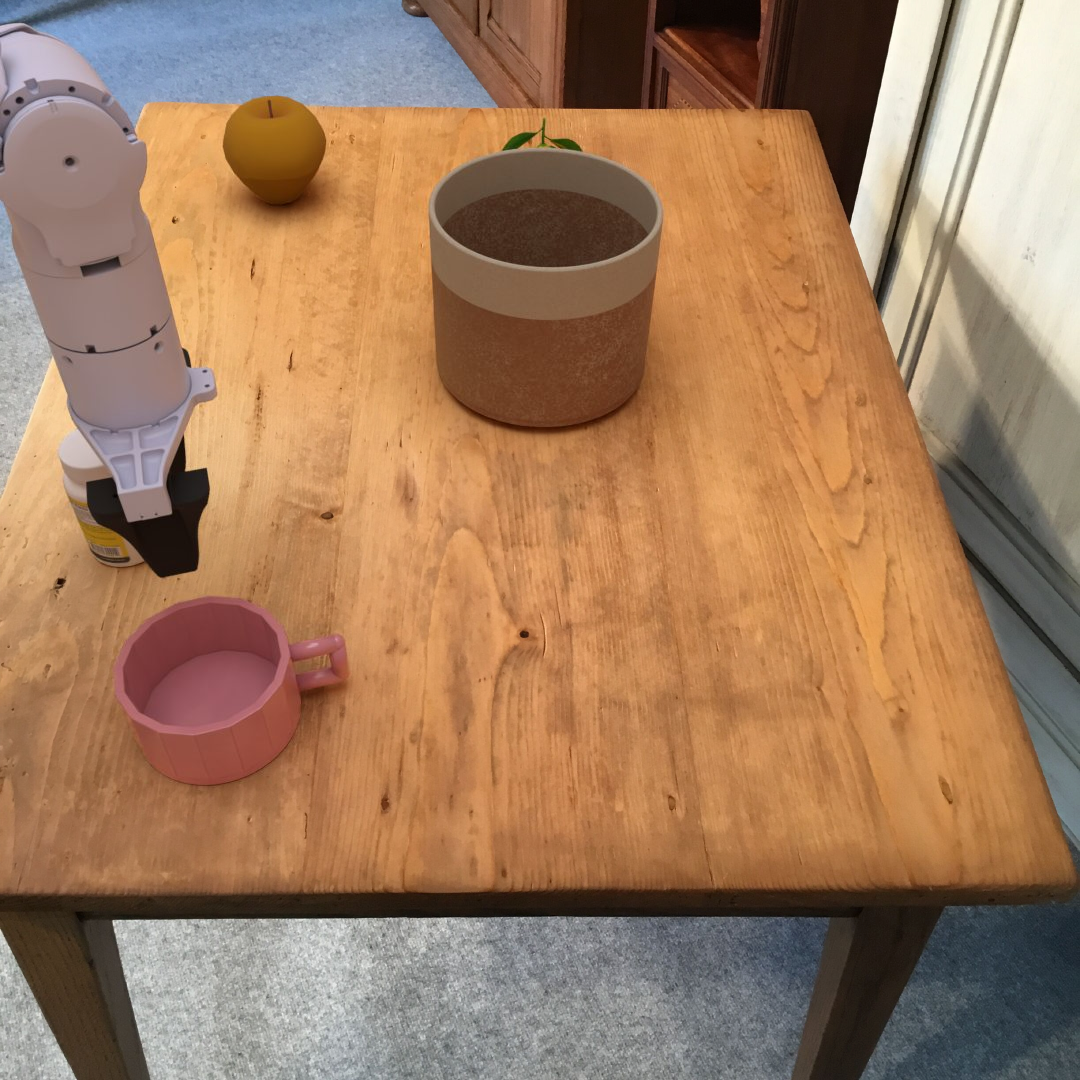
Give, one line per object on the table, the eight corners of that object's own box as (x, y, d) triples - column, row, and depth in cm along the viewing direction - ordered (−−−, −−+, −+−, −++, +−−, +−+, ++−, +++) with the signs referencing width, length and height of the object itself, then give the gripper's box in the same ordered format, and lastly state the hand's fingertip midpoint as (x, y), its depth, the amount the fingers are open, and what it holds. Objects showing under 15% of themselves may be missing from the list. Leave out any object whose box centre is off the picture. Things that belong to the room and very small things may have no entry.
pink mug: (143, 804, 57) (118, 753, 53) (131, 671, 63) (109, 616, 59) (368, 747, 60) (359, 695, 56) (337, 624, 66) (328, 570, 62)
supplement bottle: (158, 506, 72) (126, 409, 66) (175, 554, 69) (143, 457, 63) (84, 528, 70) (44, 431, 64) (98, 578, 68) (58, 481, 61)
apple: (338, 218, 97) (326, 121, 90) (235, 228, 95) (216, 130, 89) (327, 168, 103) (316, 74, 96) (231, 176, 101) (212, 81, 95)
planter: (651, 317, 88) (671, 158, 78) (633, 447, 77) (654, 282, 67) (459, 296, 89) (454, 136, 79) (415, 420, 79) (403, 254, 68)
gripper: (212, 398, 47) (262, 601, 57) (182, 224, 56) (230, 424, 66) (38, 427, 45) (121, 630, 55) (38, 243, 54) (108, 445, 64)
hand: (171, 520), depth 60 cm, fingers open, 7 cm apart
